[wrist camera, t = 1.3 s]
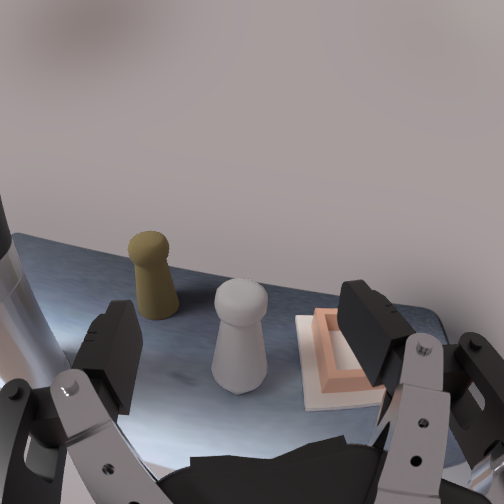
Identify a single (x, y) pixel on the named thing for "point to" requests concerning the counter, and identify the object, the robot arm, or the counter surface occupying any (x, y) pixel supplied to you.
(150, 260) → the pepper shaker
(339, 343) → the tray
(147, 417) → the counter surface
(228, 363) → the salt shaker
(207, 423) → the counter surface
